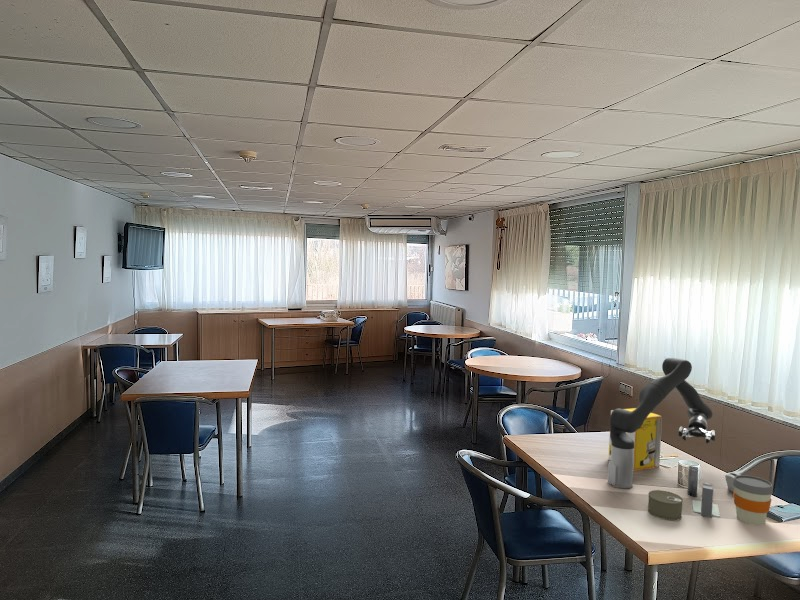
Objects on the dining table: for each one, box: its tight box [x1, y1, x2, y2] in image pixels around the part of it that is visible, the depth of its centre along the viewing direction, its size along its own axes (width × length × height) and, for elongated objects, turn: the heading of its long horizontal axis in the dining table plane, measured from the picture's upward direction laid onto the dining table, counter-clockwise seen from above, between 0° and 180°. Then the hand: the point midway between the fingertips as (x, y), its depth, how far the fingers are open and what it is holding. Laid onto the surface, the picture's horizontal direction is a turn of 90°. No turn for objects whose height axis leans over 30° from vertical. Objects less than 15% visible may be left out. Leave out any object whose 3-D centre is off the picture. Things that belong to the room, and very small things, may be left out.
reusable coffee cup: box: [733, 474, 774, 526], centre depth 200 cm, size 13×13×15 cm
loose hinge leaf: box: [687, 465, 699, 498], centre depth 222 cm, size 3×6×11 cm, turn 152°
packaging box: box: [608, 407, 663, 472], centre depth 258 cm, size 16×16×25 cm
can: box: [647, 489, 684, 522], centre depth 203 cm, size 12×12×7 cm
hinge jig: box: [691, 482, 721, 519], centre depth 208 cm, size 14×9×11 cm, turn 152°
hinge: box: [724, 472, 741, 493], centre depth 222 cm, size 17×5×10 cm, turn 178°
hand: (695, 439), depth 231 cm, fingers open, 8 cm apart
